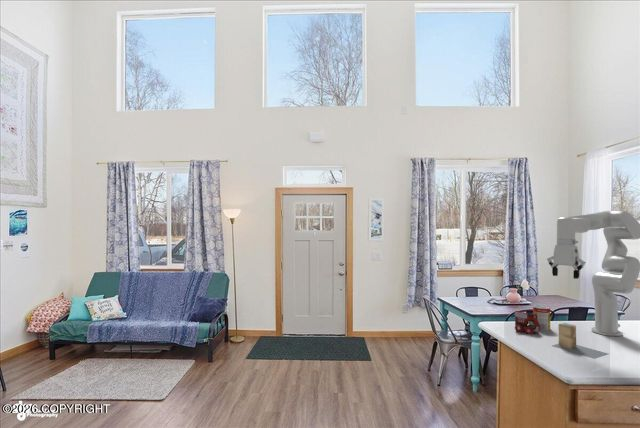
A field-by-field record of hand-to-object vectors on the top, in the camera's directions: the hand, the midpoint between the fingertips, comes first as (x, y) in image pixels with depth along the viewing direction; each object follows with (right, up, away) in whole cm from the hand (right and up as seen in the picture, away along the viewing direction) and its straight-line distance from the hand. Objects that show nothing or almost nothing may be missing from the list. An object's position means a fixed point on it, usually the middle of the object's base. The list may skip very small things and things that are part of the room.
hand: (565, 277), depth 178 cm
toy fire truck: (-11, -32, +13) cm, 37 cm away
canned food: (0, -32, +19) cm, 37 cm away
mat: (-3, -31, -14) cm, 34 cm away
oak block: (-5, -31, -9) cm, 33 cm away
